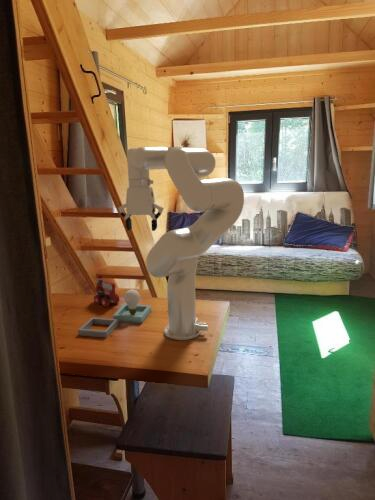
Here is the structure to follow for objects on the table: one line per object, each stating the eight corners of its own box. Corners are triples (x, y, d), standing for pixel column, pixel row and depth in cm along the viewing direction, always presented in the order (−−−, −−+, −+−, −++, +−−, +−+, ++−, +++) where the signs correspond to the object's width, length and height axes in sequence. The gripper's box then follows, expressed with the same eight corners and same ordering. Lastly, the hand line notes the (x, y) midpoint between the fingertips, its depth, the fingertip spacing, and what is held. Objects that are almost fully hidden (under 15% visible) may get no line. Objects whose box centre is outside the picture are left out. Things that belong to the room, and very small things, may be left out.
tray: (151, 311, 150) (151, 305, 149) (142, 323, 139) (141, 317, 138) (124, 309, 152) (124, 304, 151) (113, 321, 141) (113, 315, 141)
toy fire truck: (104, 297, 166) (102, 275, 163) (122, 304, 158) (120, 280, 155) (91, 302, 161) (89, 279, 158) (108, 309, 153) (106, 285, 150)
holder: (118, 324, 139) (118, 319, 138) (106, 337, 129) (106, 332, 128) (92, 322, 141) (91, 317, 141) (78, 335, 131) (78, 329, 131)
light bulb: (126, 318, 142) (124, 293, 139) (124, 312, 147) (122, 288, 145) (141, 316, 143) (140, 291, 141) (139, 310, 149) (138, 286, 146)
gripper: (165, 182, 138) (166, 228, 142) (120, 183, 142) (123, 227, 146) (159, 184, 131) (161, 232, 135) (112, 184, 135) (116, 231, 139)
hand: (141, 229), depth 140 cm, fingers open, 9 cm apart
